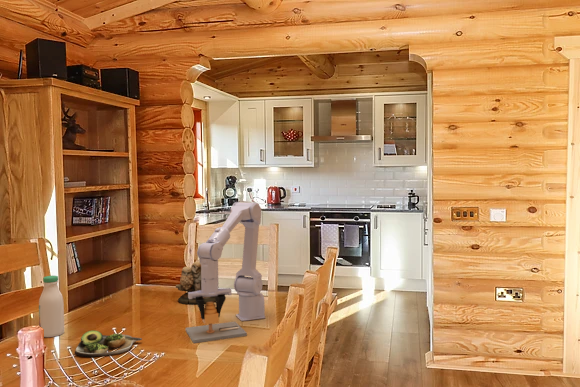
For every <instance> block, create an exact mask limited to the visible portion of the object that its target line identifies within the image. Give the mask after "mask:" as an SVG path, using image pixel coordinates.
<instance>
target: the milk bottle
mask: <svg viewBox="0 0 580 387" xmlns="http://www.w3.org/2000/svg"><path fill="white" fill-rule="evenodd" d="M42 282H43V283H42V284H43V288H42V289H43V290H42V292H41V295H40V297H39V299H38V323H39V324H38V326H40V327H42V328H43V329H44V337H43V338H52V337H54V338H55V337H58V336H60V335H63V334H64V333H65V305H64V297H63V294H62V292H61V291H60V289H59V285H58V283H59V276H58V275H47V276H44V277H43V279H42Z"/></svg>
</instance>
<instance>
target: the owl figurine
mask: <svg viewBox="0 0 580 387" xmlns="http://www.w3.org/2000/svg"><path fill="white" fill-rule="evenodd" d="M179 278H180V280H179V284H175V288H177V290H178V291H181V292H184V293H183V294H182V295H180V297H178V299H177V301H178V303H180V304H182V305H188V304H189V305H191V306H192V305H193V306H195V305H197V302H196V300H195V298H192V299H189V298H188V292H194V291H199V290H201V264H200V261H194V262H193V263H192V264H191V266H190V267H189V266H184V267H183V268H182V269H181V276H180V277H179ZM203 298H204V301H205V303H204V305H206V302H215V303H216V297H215V296H211V297H203ZM197 306H198V305H197Z"/></svg>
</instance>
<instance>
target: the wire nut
mask: <svg viewBox="0 0 580 387" xmlns="http://www.w3.org/2000/svg"><path fill="white" fill-rule="evenodd" d="M219 318H220V317H219V313H218V312H217V308H216V303H214V302H206V304H204V319H202V318H201V321H202V323H203V324H204V325H209V324H219V323H220V319H219Z"/></svg>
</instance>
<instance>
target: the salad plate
mask: <svg viewBox="0 0 580 387" xmlns="http://www.w3.org/2000/svg"><path fill="white" fill-rule="evenodd" d="M142 340H143V339H142V338H141V337H133V336H131V335H128V334H122V333H113V334H110V335H107V334H106V335H105V334H103V333H102V332H100V331H99V330H93V329H92V330H88V331H86V332H85V333H83V334H82V336H81V337H80V341H79V343H78V344H77V347H76V348H75V351H74V354H76V355H77V356H79V357H82V358H96V357H106V356H111V355H118V354H119V355H120V354H122V353H125V352H127V351H129V350H130V349H131V348H132V347H133V344H134V343H136V342H139V341H142ZM107 350H108V351H107ZM110 350H114V351H110Z"/></svg>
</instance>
